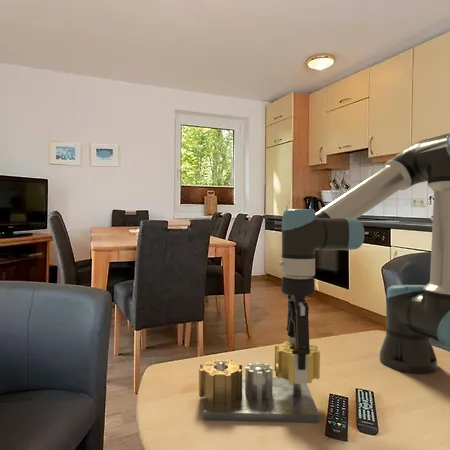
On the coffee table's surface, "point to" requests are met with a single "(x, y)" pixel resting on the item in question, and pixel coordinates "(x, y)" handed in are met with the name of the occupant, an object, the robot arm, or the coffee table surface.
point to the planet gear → (286, 362)
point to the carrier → (265, 399)
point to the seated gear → (220, 381)
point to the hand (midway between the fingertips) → (296, 372)
